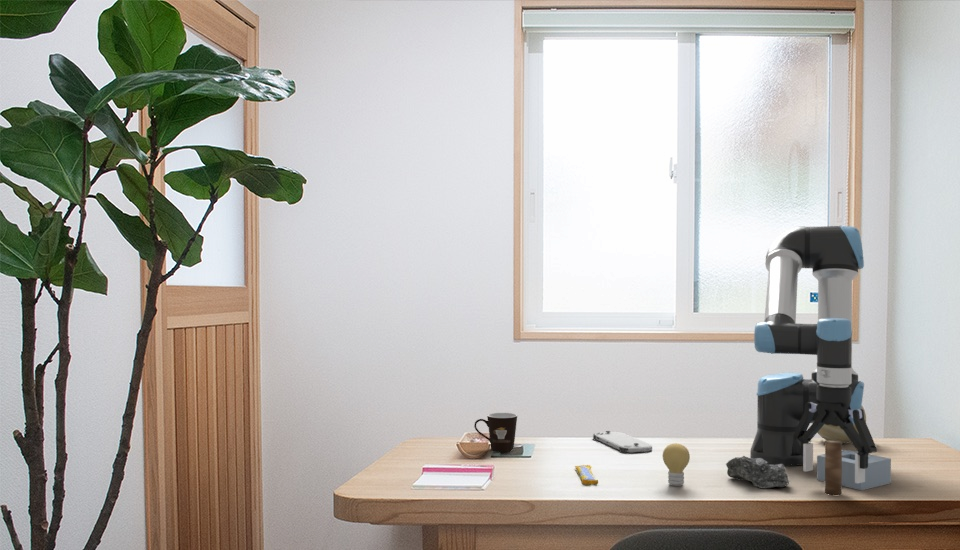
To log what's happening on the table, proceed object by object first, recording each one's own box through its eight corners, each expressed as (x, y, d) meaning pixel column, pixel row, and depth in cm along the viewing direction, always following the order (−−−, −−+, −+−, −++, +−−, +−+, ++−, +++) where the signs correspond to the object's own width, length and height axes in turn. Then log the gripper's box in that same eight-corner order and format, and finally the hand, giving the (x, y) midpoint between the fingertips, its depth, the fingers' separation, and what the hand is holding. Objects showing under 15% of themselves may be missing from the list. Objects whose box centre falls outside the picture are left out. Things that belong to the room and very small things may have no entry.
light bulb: (684, 489, 210) (684, 447, 210) (658, 486, 214) (658, 444, 213) (693, 483, 216) (693, 442, 215) (667, 480, 219) (668, 439, 219)
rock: (724, 472, 223) (724, 442, 218) (774, 464, 224) (775, 434, 218) (742, 510, 212) (743, 479, 207) (794, 501, 212) (797, 470, 207)
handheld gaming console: (656, 443, 251) (624, 445, 248) (656, 453, 251) (624, 455, 249) (620, 428, 273) (590, 430, 271) (620, 437, 274) (590, 439, 271)
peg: (824, 494, 206) (824, 443, 205) (825, 490, 209) (825, 440, 209) (841, 496, 204) (841, 444, 204) (841, 492, 207) (842, 441, 207)
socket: (861, 490, 209) (861, 464, 209) (817, 479, 219) (817, 455, 219) (890, 483, 216) (890, 458, 216) (846, 473, 226) (846, 449, 226)
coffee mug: (522, 449, 255) (522, 414, 255) (507, 454, 248) (507, 419, 248) (488, 444, 261) (488, 410, 261) (472, 449, 254) (472, 415, 254)
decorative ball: (806, 437, 271) (806, 388, 271) (857, 438, 269) (858, 389, 269) (818, 447, 256) (818, 396, 256) (872, 449, 254) (873, 397, 254)
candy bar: (599, 487, 214) (599, 479, 214) (581, 487, 214) (581, 479, 214) (591, 470, 231) (591, 463, 231) (574, 470, 231) (574, 463, 231)
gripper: (778, 380, 214) (778, 467, 215) (874, 392, 194) (873, 489, 194) (798, 378, 219) (797, 464, 219) (893, 390, 198) (893, 485, 198)
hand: (833, 476), depth 206 cm, fingers open, 13 cm apart
